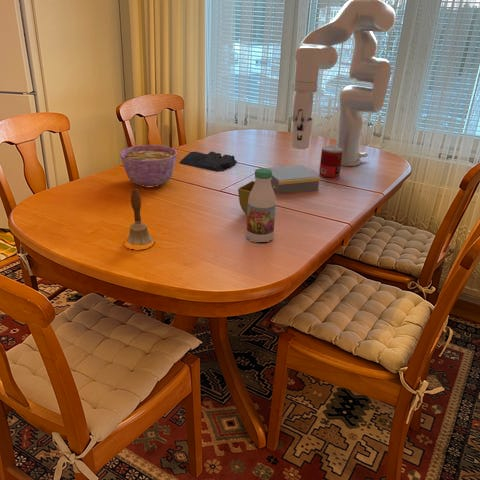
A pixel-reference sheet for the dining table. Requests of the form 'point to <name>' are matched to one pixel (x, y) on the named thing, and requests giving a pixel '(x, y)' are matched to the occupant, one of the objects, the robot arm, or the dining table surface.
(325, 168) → the canned food
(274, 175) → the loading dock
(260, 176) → the milk bottle
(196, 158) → the dark slate chunk
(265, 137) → the dining table surface
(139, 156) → the bowl of food
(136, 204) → the hand bell
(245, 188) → the flower pot
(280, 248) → the dining table surface
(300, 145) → the white cup
